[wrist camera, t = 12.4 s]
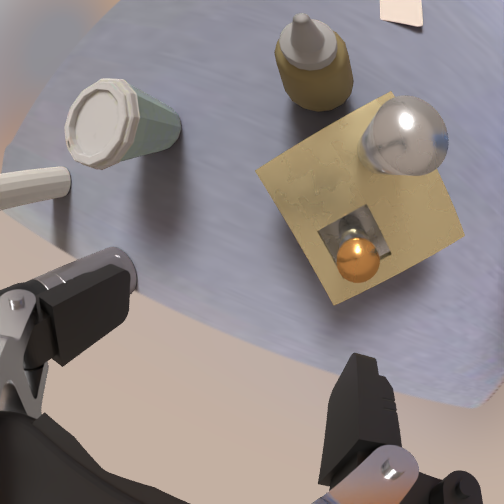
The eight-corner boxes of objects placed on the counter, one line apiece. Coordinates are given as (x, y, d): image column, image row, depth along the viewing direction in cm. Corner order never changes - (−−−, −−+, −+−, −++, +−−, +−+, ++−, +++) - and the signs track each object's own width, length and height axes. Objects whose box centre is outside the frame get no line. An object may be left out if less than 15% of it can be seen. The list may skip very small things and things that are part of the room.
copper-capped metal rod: (344, 246, 35) (348, 290, 22) (331, 222, 34) (328, 253, 22) (368, 233, 33) (386, 270, 21) (355, 209, 33) (367, 232, 20)
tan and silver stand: (335, 278, 37) (326, 384, 18) (272, 171, 36) (196, 171, 16) (440, 222, 31) (530, 277, 12) (379, 108, 30) (424, 38, 10)
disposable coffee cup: (179, 83, 36) (109, 54, 22) (208, 143, 37) (139, 133, 23) (128, 122, 40) (54, 114, 26) (151, 179, 41) (76, 188, 27)
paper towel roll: (71, 164, 45) (-26, 176, 25) (72, 196, 47) (-23, 217, 27) (52, 168, 47) (-36, 181, 27) (53, 197, 49) (-33, 217, 29)
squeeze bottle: (362, 107, 30) (381, 50, 14) (301, 126, 33) (267, 85, 16) (336, 52, 29) (329, -30, 12) (278, 71, 32) (229, 3, 15)
